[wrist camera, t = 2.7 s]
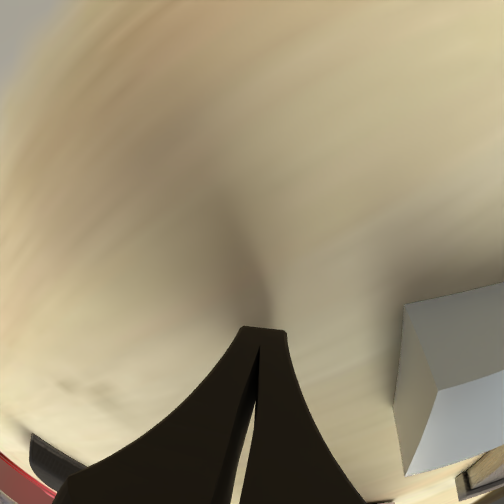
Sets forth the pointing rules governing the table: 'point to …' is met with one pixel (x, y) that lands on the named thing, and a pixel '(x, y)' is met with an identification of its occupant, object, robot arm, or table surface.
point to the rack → (482, 475)
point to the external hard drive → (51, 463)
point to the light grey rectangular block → (451, 379)
